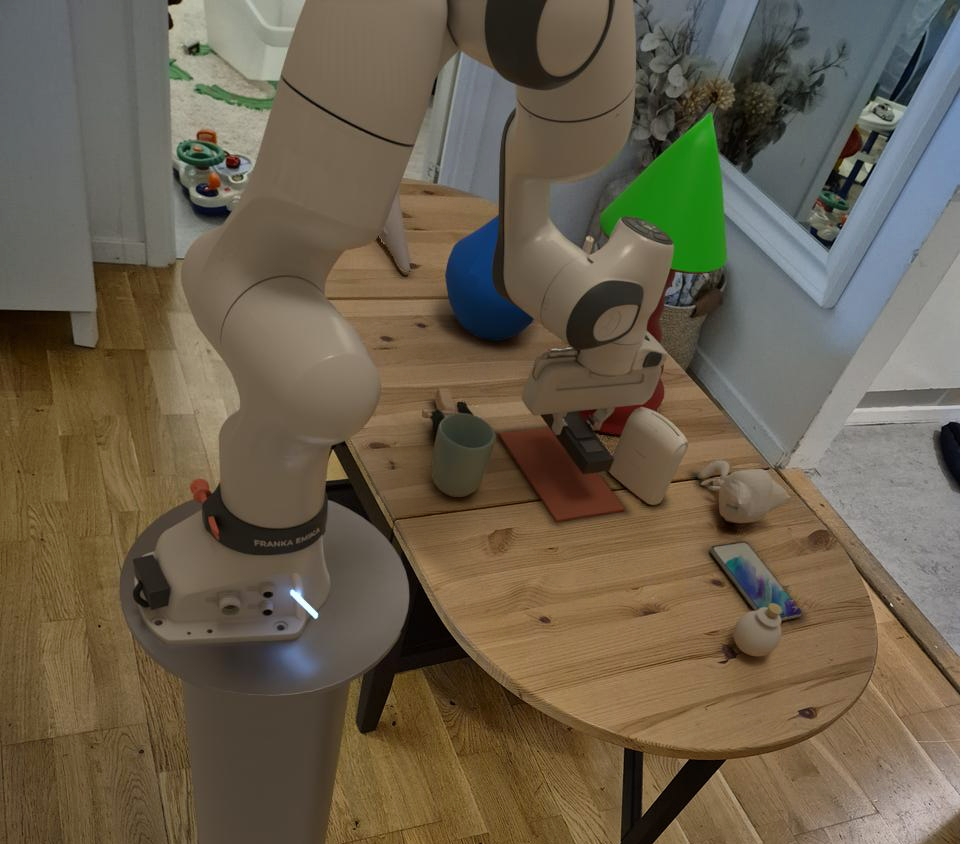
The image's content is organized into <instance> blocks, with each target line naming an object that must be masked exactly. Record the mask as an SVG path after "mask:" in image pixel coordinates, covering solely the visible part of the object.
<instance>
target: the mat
mask: <svg viewBox="0 0 960 844" xmlns="http://www.w3.org/2000/svg"><path fill="white" fill-rule="evenodd" d="M498 437H499V439H500V440H501V442H502V444H503V445H504V447H505V448H506V450H507V451H508V453H509V454H510V455H511V457H512V458H513V460H514V462H515V463H516V464H517V466H518V468H519V469H520V470H521V472H522V474H523V476H524V477H525V478H526V479H527V481H528V482H529V484H530V485H531V487H532V489H533V490H534V491H535V493H536V494H537V496H538V497H539V499H540V501H541V502H542V503H543V506H544V507H545V508H546V509H547V511H548V513H549V514H550V515H551V517H552V518H553V520H554V522H555V523H559V522H565V521H572V520H579V519H584V518H589V517H595V516H596V517H597V516H604V515H608V514H616V513H622V512H625V510H626V508H625V507H624V506H623V505H622V503H621V501H620V500H619V499H618V497H617V496H616V495H615V494H614V492H613V491H612V490H611V488H610V487H609V486H608V484H607V482H606V481H605V480H604V478H603V477H602V476H601V474H600V472H596V473H589V474H582V472H581V471H580V470H579V468H578V467H577V465H576V464H575V463H574V461H573V460H572V458H571V457H570V456H569V454H568V453H567V451H566V450H565V449H564V447H563V446H562V444H561V443H560V442H559V440H558V439H557V438H556V436H555V435H554V433H553V432H552V431H551V429H550V428H549V427H544V428H532V429H525V430H516V431H515V430H514V431H506V432H499V433H498Z"/></svg>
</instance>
